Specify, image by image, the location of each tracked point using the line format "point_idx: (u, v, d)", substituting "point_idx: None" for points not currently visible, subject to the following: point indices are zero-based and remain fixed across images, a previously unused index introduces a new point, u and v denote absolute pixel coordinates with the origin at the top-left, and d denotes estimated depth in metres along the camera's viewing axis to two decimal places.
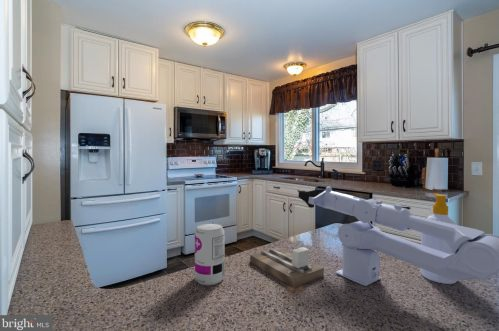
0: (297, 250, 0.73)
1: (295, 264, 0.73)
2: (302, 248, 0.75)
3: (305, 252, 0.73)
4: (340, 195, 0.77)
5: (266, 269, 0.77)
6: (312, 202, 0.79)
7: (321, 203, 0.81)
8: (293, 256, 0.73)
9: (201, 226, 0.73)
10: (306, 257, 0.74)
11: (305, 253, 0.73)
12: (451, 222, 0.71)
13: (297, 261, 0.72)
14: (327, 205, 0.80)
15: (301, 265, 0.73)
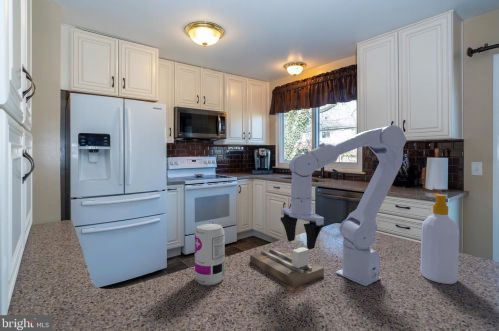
0: (297, 250, 0.73)
1: (295, 264, 0.73)
2: (302, 248, 0.75)
3: (305, 252, 0.73)
4: (293, 195, 0.72)
5: (266, 269, 0.77)
6: (322, 218, 0.68)
7: (311, 215, 0.72)
8: (293, 256, 0.73)
9: (201, 226, 0.73)
10: (306, 257, 0.74)
11: (305, 253, 0.73)
12: (451, 222, 0.71)
13: (297, 261, 0.72)
14: None
15: (301, 265, 0.73)
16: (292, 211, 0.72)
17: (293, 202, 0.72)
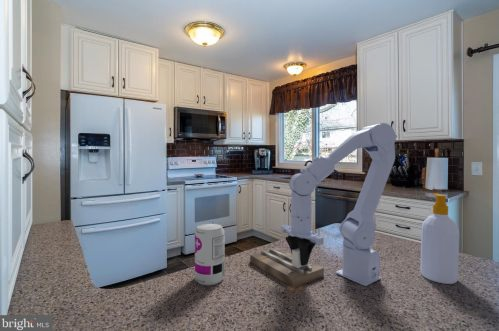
0: (297, 250, 0.73)
1: (295, 264, 0.73)
2: None
3: None
4: (293, 214, 0.72)
5: (266, 269, 0.77)
6: (322, 238, 0.68)
7: (311, 234, 0.72)
8: (293, 256, 0.73)
9: (201, 226, 0.73)
10: None
11: None
12: (451, 222, 0.71)
13: (297, 261, 0.72)
14: (310, 226, 0.72)
15: (301, 265, 0.73)
16: (292, 230, 0.73)
17: (293, 221, 0.72)
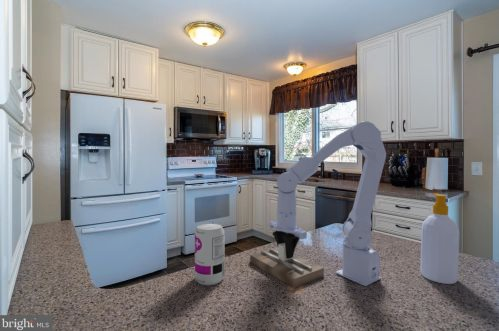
0: (283, 244, 0.78)
1: (281, 257, 0.77)
2: None
3: None
4: (278, 210, 0.77)
5: (266, 269, 0.77)
6: (305, 233, 0.73)
7: (296, 229, 0.77)
8: (279, 250, 0.78)
9: (201, 226, 0.73)
10: None
11: None
12: (451, 222, 0.71)
13: (282, 255, 0.77)
14: (295, 222, 0.77)
15: None
16: (278, 225, 0.77)
17: (279, 217, 0.77)
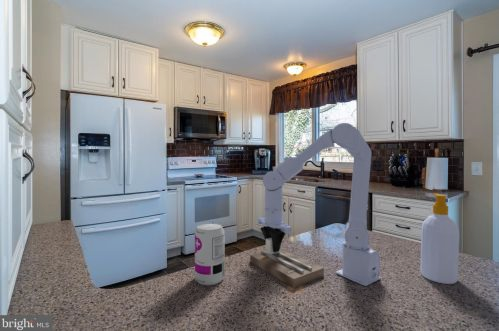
0: (270, 239, 0.83)
1: (268, 251, 0.82)
2: None
3: None
4: (265, 206, 0.83)
5: (266, 269, 0.77)
6: (290, 228, 0.78)
7: (282, 224, 0.82)
8: (266, 244, 0.83)
9: (201, 226, 0.73)
10: None
11: None
12: (451, 222, 0.71)
13: (269, 248, 0.82)
14: (281, 218, 0.82)
15: (273, 252, 0.82)
16: (265, 221, 0.82)
17: (266, 213, 0.82)
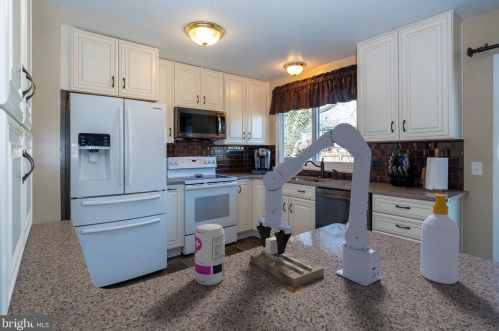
0: (270, 239, 0.83)
1: (268, 251, 0.82)
2: (275, 237, 0.85)
3: None
4: (265, 206, 0.83)
5: (266, 269, 0.77)
6: (290, 228, 0.78)
7: (282, 224, 0.82)
8: (266, 244, 0.83)
9: (201, 226, 0.73)
10: None
11: None
12: (451, 222, 0.71)
13: (269, 248, 0.82)
14: (281, 218, 0.82)
15: (273, 252, 0.82)
16: (265, 221, 0.82)
17: (266, 213, 0.82)
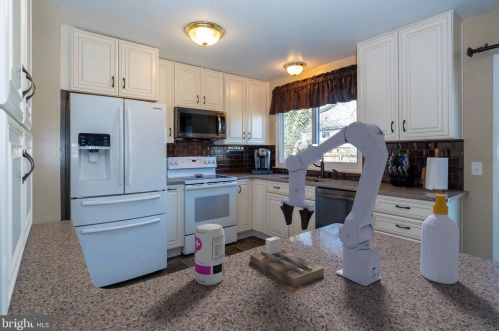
0: (270, 239, 0.83)
1: (268, 251, 0.82)
2: (275, 237, 0.85)
3: (277, 241, 0.83)
4: None
5: (266, 269, 0.77)
6: (313, 205, 0.86)
7: (305, 203, 0.90)
8: (266, 244, 0.83)
9: (201, 226, 0.73)
10: (278, 245, 0.83)
11: (277, 242, 0.83)
12: (451, 222, 0.71)
13: (269, 248, 0.82)
14: (304, 197, 0.90)
15: (273, 252, 0.82)
16: (289, 200, 0.90)
17: (290, 193, 0.90)
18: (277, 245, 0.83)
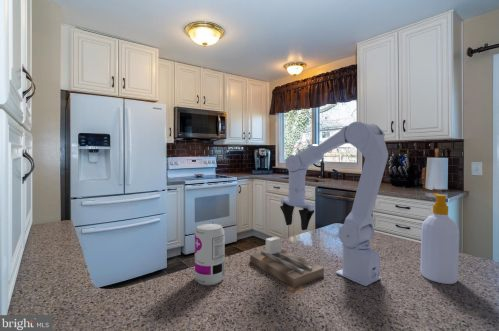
0: (270, 239, 0.83)
1: (268, 251, 0.82)
2: (275, 237, 0.85)
3: (277, 241, 0.83)
4: None
5: (266, 269, 0.77)
6: (313, 205, 0.86)
7: (305, 203, 0.90)
8: (266, 244, 0.83)
9: (201, 226, 0.73)
10: (278, 245, 0.83)
11: (277, 242, 0.83)
12: (451, 222, 0.71)
13: (269, 248, 0.82)
14: (304, 197, 0.90)
15: (273, 252, 0.82)
16: (289, 200, 0.90)
17: (290, 193, 0.90)
18: (277, 245, 0.83)
